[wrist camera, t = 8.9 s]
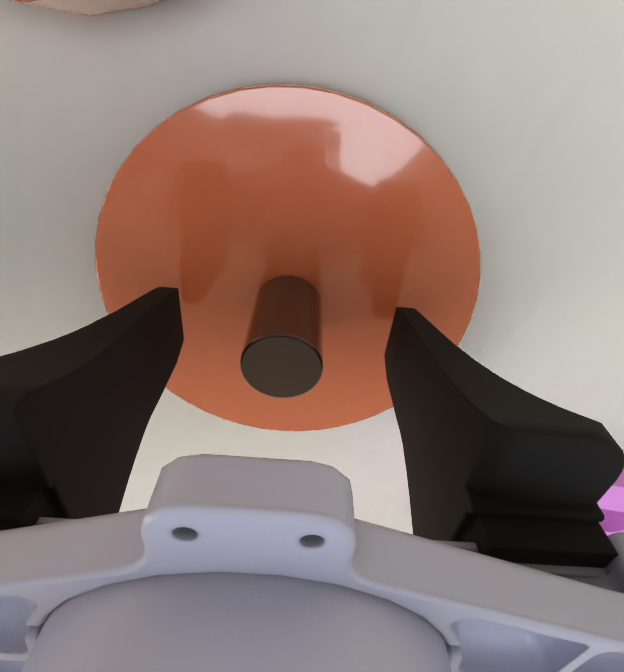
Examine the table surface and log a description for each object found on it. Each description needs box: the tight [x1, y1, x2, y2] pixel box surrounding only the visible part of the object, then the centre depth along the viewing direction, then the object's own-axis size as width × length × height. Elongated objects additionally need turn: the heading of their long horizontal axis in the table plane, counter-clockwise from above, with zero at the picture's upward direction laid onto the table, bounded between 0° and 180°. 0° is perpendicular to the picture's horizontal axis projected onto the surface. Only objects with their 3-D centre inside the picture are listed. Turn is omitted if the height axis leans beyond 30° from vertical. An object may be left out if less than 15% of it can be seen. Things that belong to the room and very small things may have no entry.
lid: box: [95, 84, 480, 431], centre depth 13 cm, size 13×13×5 cm
